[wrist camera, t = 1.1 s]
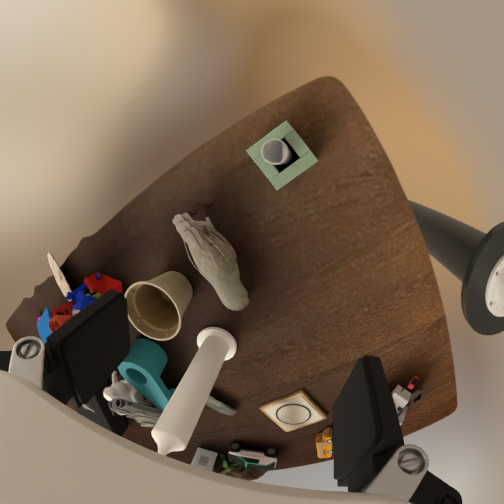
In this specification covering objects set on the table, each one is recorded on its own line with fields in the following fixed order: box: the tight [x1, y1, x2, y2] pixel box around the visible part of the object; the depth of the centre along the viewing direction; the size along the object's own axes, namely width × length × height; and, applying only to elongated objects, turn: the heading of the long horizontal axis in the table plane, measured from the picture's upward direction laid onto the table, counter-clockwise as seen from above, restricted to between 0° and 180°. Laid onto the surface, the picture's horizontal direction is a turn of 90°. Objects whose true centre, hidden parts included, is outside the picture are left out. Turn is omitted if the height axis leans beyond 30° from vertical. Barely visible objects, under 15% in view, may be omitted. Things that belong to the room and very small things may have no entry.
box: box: [75, 379, 128, 436], centre depth 58 cm, size 25×14×7 cm, turn 177°
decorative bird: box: [172, 203, 249, 311], centre depth 37 cm, size 5×16×8 cm, turn 27°
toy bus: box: [316, 428, 334, 458], centre depth 49 cm, size 3×10×4 cm
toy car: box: [228, 442, 277, 471], centre depth 53 cm, size 6×12×5 cm, turn 88°
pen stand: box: [246, 120, 318, 190], centre depth 33 cm, size 6×6×5 cm
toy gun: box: [109, 398, 163, 427], centre depth 49 cm, size 4×21×15 cm
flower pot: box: [125, 271, 193, 341], centre depth 40 cm, size 9×9×9 cm
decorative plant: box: [219, 454, 239, 475], centre depth 59 cm, size 6×8×30 cm
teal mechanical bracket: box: [118, 339, 176, 411], centre depth 48 cm, size 7×15×8 cm
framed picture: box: [259, 390, 327, 432], centre depth 48 cm, size 10×10×1 cm
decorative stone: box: [47, 252, 72, 301], centre depth 48 cm, size 8×14×2 cm, turn 42°
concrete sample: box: [225, 468, 268, 481], centre depth 54 cm, size 11×10×5 cm
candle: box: [152, 327, 237, 456], centre depth 34 cm, size 7×7×25 cm
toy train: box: [37, 272, 123, 344], centre depth 41 cm, size 10×16×15 cm, turn 127°
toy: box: [392, 376, 423, 425], centre depth 40 cm, size 12×17×15 cm
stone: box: [205, 396, 237, 415], centre depth 50 cm, size 12×2×5 cm
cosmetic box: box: [191, 447, 218, 471], centre depth 58 cm, size 8×6×15 cm
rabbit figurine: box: [103, 371, 144, 415], centre depth 51 cm, size 12×8×10 cm, turn 29°
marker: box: [261, 139, 293, 165], centre depth 29 cm, size 2×2×13 cm
